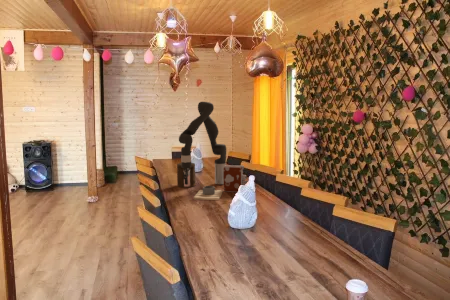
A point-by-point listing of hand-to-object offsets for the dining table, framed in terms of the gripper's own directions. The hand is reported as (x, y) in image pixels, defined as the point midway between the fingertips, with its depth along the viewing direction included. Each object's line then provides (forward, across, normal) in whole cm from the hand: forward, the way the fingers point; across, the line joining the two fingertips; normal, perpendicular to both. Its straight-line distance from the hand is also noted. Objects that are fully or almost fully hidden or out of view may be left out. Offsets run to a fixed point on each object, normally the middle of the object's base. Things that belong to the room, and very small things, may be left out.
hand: (187, 183), depth 302 cm
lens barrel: (+7, +4, +17) cm, 19 cm away
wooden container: (+9, -30, -7) cm, 32 cm away
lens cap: (+2, 0, 0) cm, 2 cm away
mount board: (+8, +4, +17) cm, 19 cm away
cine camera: (+9, -12, +36) cm, 39 cm away
